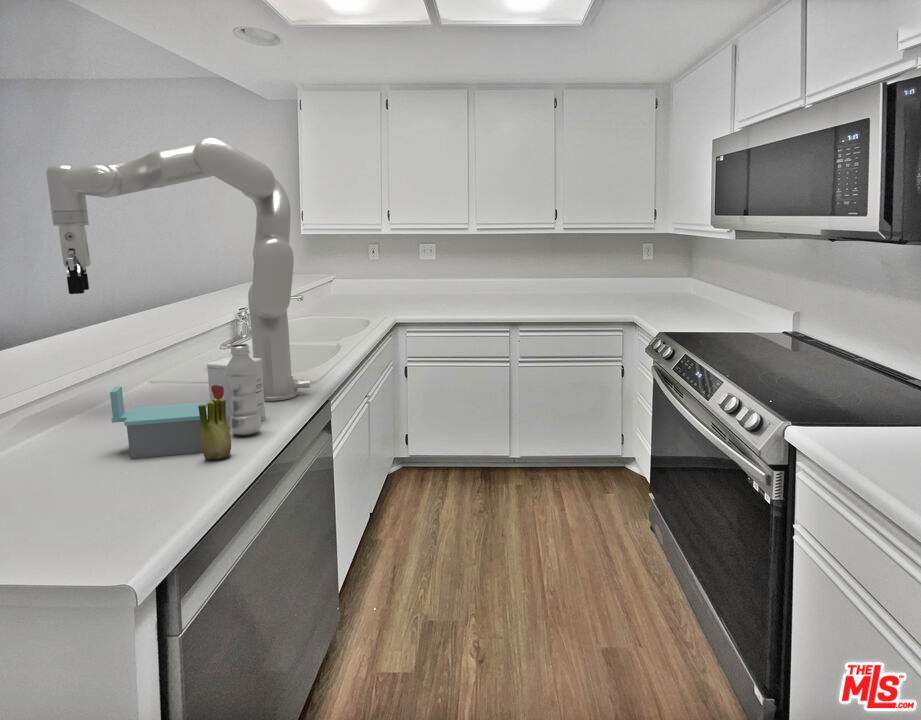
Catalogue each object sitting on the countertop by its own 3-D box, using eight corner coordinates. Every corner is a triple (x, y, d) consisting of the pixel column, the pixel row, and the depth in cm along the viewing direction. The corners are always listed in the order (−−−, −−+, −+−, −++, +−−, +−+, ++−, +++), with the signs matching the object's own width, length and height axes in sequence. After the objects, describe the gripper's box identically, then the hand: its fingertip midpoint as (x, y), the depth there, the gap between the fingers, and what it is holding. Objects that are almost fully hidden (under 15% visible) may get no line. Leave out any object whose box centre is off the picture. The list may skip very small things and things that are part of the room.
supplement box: (210, 426, 166) (204, 363, 164) (235, 416, 175) (230, 355, 172) (243, 429, 163) (238, 365, 160) (267, 419, 172) (262, 357, 169)
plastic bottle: (229, 432, 162) (221, 344, 158) (260, 428, 164) (253, 341, 160) (232, 440, 156) (224, 349, 152) (264, 436, 158) (257, 346, 154)
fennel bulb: (203, 463, 141) (197, 404, 139) (201, 456, 146) (195, 398, 143) (234, 459, 143) (229, 401, 141) (231, 452, 148) (226, 395, 146)
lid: (207, 409, 158) (204, 377, 156) (202, 423, 147) (199, 389, 145) (120, 415, 154) (117, 383, 152) (108, 431, 143) (104, 396, 141)
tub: (208, 436, 159) (205, 406, 157) (203, 452, 148) (200, 419, 147) (140, 442, 155) (136, 411, 154) (130, 458, 145) (126, 425, 143)
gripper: (83, 218, 164) (92, 294, 167) (92, 219, 180) (100, 287, 183) (46, 219, 161) (56, 296, 165) (58, 219, 177) (66, 289, 180)
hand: (79, 291), depth 174 cm, fingers open, 9 cm apart
